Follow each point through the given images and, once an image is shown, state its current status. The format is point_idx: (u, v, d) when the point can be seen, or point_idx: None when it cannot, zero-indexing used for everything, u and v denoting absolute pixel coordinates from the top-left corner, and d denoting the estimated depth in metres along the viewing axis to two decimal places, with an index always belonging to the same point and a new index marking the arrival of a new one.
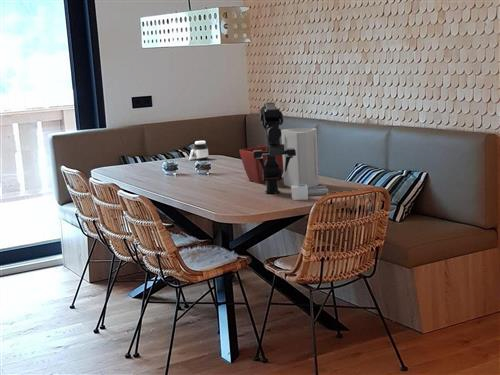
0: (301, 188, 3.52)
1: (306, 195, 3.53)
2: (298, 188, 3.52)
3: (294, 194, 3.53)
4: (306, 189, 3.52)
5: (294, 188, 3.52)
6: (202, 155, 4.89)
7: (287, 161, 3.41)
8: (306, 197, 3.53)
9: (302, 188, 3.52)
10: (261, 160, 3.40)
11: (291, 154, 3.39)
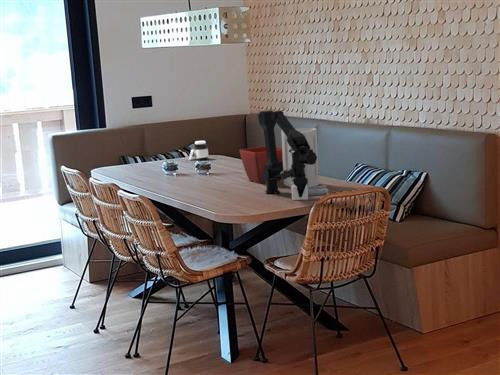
0: None
1: (306, 195, 3.53)
2: None
3: (294, 194, 3.53)
4: (306, 189, 3.52)
5: (294, 188, 3.52)
6: (202, 155, 4.89)
7: (297, 187, 3.51)
8: (306, 197, 3.53)
9: None
10: None
11: None
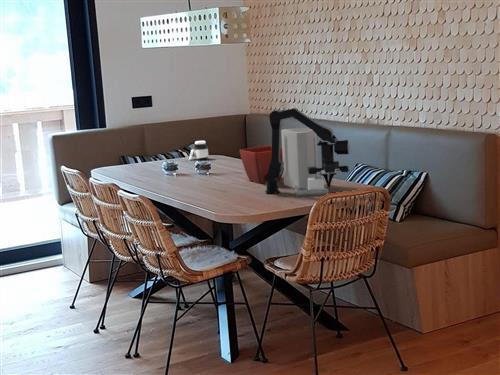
0: (317, 180, 3.62)
1: (322, 187, 3.63)
2: (314, 180, 3.62)
3: (310, 186, 3.63)
4: (322, 181, 3.63)
5: (310, 180, 3.62)
6: (202, 155, 4.89)
7: (331, 177, 3.64)
8: None
9: (318, 180, 3.62)
10: (325, 175, 3.63)
11: (344, 170, 3.61)
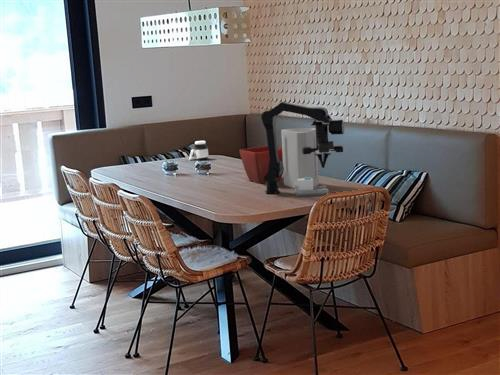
0: (307, 181, 3.62)
1: (312, 188, 3.63)
2: (304, 181, 3.62)
3: (300, 187, 3.63)
4: (312, 182, 3.62)
5: (300, 181, 3.62)
6: (202, 155, 4.89)
7: (325, 158, 3.62)
8: None
9: (307, 181, 3.62)
10: (320, 156, 3.61)
11: (339, 150, 3.60)
